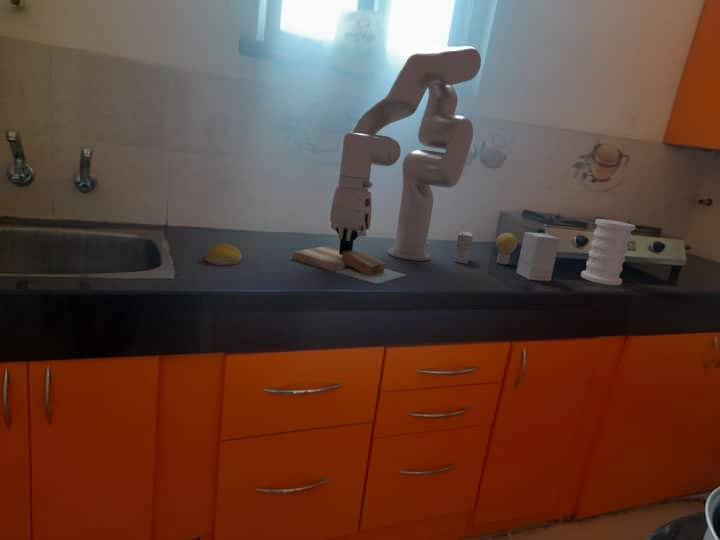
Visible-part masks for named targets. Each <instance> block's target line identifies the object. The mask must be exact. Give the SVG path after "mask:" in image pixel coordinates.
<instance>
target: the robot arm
mask: <svg viewBox="0 0 720 540" xmlns="http://www.w3.org/2000/svg"><path fill="white" fill-rule="evenodd" d="M481 65H482V58H481V55H480V52H479V51H478V49H477V48H475V47H473V46H438V47H433V48H430V49H427V50H417V51H413V52H412V53H411V54H409V55H408V56H407V58H406V60H405V61H404V63H403V65H402V67H401V69H400V71H399V73H398V75H397V76H396V78H395V81H394V83H393V84H392V86H391V88H390V90H389V92H388V94H387V95H386V96H385V97H384V98H383V99H381V100H379V101H377V103H376V104H374V105H373V106H372V107H370V108H369V110H367V111H365V112H364V114H363V115H362V116H361V117H360V118H359V119H358V121H357V123H356V125H355V127H354V129H353V130H352V132H351V131H350V132H347V133H345V135H344V137H343V143H342V152H341V161H340V170H339V177H338V186H336V189H335V192H334V194H333V197H332V198H333V199H332V203H331V208H330V218H329V220H330V229H332V230H333V231H335V232H336V233H337V235H338V240H339V241H340V242H339V250H340V252H339V254H340V255H343V252H344V251H350V250H354V249H353V248H354V241H356V240H357V238H358V237H366V236H367V230H369V229H370V227H371V223H372V222H371V221H372V206H373V205H372V192H371V191H369V189H371V188H372V187H373V182H371V181H370V178H371V171H372V165H373V166H378V167H390V166H392V165H395V164H396V163H397V161H399V159H400V157H401V154H402V153H401V152H402V151H401V146H400V144H399V142H398V140H397V139H395V138H394V137H391V136H389V135H388V136H387V135H379V134H377V133H378V132H380V131H381V130H382V129H383V128H385V127H387V126H388V125H390V124H391V125H392V124H393V123H396V122H398V121H402V120H404V119H406V118H409V117H411V116H412V115H414V114H415V113H416V111H417V109H418V108H419V105H420V103H421V101H422V100H423V98H424V96H425V93H426V92H427V90H428V100H427V102H426V105H425V109H424V112H423V115H422V118H421V122H420V125H419V128H418V132H417V133H418V135H417V139H418V141H419V144H421V145H423V146H425V147H428V148H433V149H440V150H445V152H439V151H435V150H427V149H416V150H415V149H414V150H412V151H409V152H408V153H407V154H406V155H405V157H404V159H403V161H402V193H401V198H400V199H401V200H400V205H399V214H398V219H397V221H398V222H397V226H396V233H395V241H394V246H393V247H390V248H389V249H388V254H389V255H390V256H392V257H395V258H398V259H400V260H401V259H403V260H409V261H416V262H421V261H422V262H424V261H428V260H430V258H431V255H430V254H429V253H428V252H426V251H427V249H429V248H430V247H431V243H430V242H429V241H428V238H429V231H430V226H431V225H430V224H431V219H432V215H433V213H432V212H433V206H434V193H433V191H432V189H431V186H433V187H439V188H444V189H445V188H446V189H450V188H453V187H455V186H456V185H457V184H458V182H459V181H460V179H461V177H462V174H463V171H464V168H465V165H466V161H467V158H468V154H469V153H470V149H471V146H472V142H473V136H474V126H473V123H472V122H471V120H470V119H469V118H467V117H466V116H462V115H455V112H456V110H457V106H458V95H457V92H456V90H455V87H454V86H453V85H458V84H461V83H465V82H469V81H471V80H473V79H475V78H476V76H477V75H478V73H479V71H480V69H481V67H482V66H481Z"/></svg>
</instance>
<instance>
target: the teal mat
mask: <svg viewBox="0 0 720 540" xmlns="http://www.w3.org/2000/svg"><path fill="white" fill-rule="evenodd" d="M335 273H337V274H340V275H343V276H347V277H349V276H350V277H349V278H352V277H353V279H356V280H360V281H363V282H367V283H369V284H373V285H376V286H377V285H381V284H385V283H388V282H392V281H395V280H397V279H401V278H403V277H407V274H406V273H401V272H398V271H394V270H391V269H389V268H388V269H387V268H385V269H384V272H382V273H378V274H374V275H370V276H368V275H366V274H364V273H362V272H360V271H359V270H357V269H355V268H353V267H351V268H347V269H342V270H338V271H336V272H335Z"/></svg>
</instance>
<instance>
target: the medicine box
mask: <svg viewBox="0 0 720 540" xmlns="http://www.w3.org/2000/svg"><path fill="white" fill-rule="evenodd" d="M457 233H458V234H457V237H456V244H455V251H454V257H453V258H454V260H453V262H454V263H460V264H465V265H469V261H470V255H471V250H472V243H473V232H470V231H462V230H461V231H458V232H457Z"/></svg>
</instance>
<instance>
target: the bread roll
mask: <svg viewBox="0 0 720 540" xmlns="http://www.w3.org/2000/svg"><path fill="white" fill-rule="evenodd" d="M204 259H205V261H206V262H208V263H210V264H213V265H219V266H231V265H232V266H233V265H238V264H239V263H240V262H241V261H242V259H243V254H242V253H241V251H240V250H239V249H238V248H237V247H236V246H234V245H232V244H228V243H220V244H218V243H217V244H216V245H214V246H213V247H211V248H210V249H209V250H208V251H207V252H206V253H205V255H204Z"/></svg>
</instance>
